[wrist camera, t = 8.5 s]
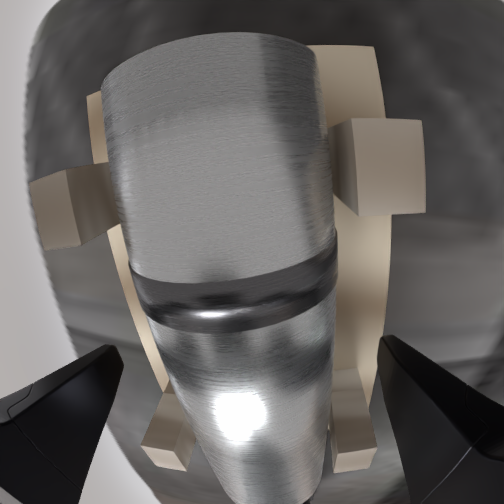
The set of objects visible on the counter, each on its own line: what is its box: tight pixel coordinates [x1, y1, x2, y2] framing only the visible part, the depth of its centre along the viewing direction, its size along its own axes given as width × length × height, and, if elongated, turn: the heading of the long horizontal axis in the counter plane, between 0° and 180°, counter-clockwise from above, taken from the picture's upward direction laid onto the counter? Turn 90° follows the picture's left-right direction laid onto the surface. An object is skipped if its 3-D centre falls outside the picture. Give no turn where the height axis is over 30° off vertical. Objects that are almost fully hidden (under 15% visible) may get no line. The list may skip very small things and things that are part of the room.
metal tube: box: [101, 32, 338, 504], centre depth 8 cm, size 16×5×5 cm, turn 7°
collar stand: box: [29, 45, 426, 473], centre depth 10 cm, size 20×12×6 cm, turn 7°
